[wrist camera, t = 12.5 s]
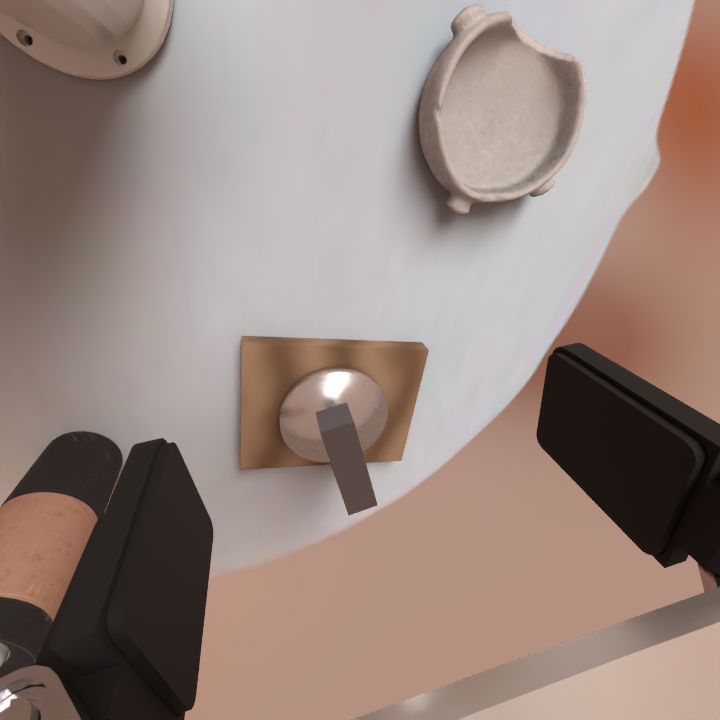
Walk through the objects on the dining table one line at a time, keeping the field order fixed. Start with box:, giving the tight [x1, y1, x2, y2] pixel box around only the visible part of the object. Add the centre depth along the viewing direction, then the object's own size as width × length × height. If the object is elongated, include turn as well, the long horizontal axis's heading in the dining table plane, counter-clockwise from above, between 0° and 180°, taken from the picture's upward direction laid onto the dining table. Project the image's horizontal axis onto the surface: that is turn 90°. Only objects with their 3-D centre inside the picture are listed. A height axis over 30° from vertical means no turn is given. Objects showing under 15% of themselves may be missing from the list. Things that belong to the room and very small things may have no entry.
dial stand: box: [240, 336, 429, 469], centre depth 45 cm, size 20×16×2 cm
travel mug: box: [0, 432, 122, 678], centre depth 33 cm, size 8×8×20 cm
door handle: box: [279, 366, 388, 515], centre depth 40 cm, size 14×12×10 cm
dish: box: [419, 5, 586, 214], centre depth 33 cm, size 14×14×5 cm
